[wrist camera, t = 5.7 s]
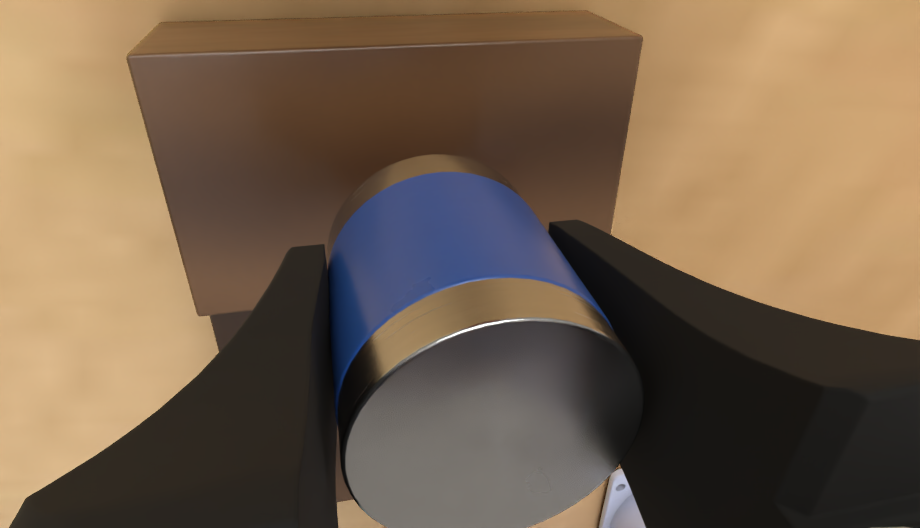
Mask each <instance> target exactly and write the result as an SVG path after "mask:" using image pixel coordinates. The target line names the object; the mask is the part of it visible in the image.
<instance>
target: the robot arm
mask: <svg viewBox="0 0 920 528" xmlns="http://www.w3.org/2000/svg"><path fill="white" fill-rule="evenodd" d="M548 234H549V235H550V236H551V238H552V239H553V241H554V242H555V244H556V245H557V247H558V248H559V249H560V251H561V252H562V254H563V255H564V257H565V258H566V259H567V261H568V262H569V264H570V265H571V267H572V268H573V270H574V271H575V272H576V274H577V275H578V277H579V278H580V280H581V281H582V283H583V284H584V285H585V287H586V288H587V290H588V291H589V293H590V294H591V296H592V297H593V298H594V300H595V301H596V303H597V304H598V306H599V307H600V309H601V310H602V311H603V313H604V314H605V316H606V317H607V319H608V320H609V322H610V324H611V326H612V329H613V331H614V333H615V334H616V335H617V337H618V338H619V340H620V341H621V343H622V344H623V346H624V347H625V349H626V350H627V351H628V353H629V354H630V356H631V357H632V359H633V360H634V362H635V363H636V365H637V368H638V370H639V372H640V375H641V377H642V382H643V387H644V412H643V418H642V422H641V425H640V428H639V431H638V434H637V436H636V438H635V440H634V442H633V444H632V447H631V448H630V450H629V451H628V453H627V454H626V456H625V457H624V459H623V460H622V462H621V463H620V465H621V469H618V470H615V471H614V472H613V473H612V474H611V476H610V479H609V483H608V488H607V492H606V497H605V501H604V506H603V510H602V515H601V519H600V524H599V528H920V340H914V339H907V338H901V337H895V336H889V335H884V334H878V333H874V332H869V331H864V330H860V329H855V328H850V327H846V326H841V325H837V324H833V323H829V322H825V321H821V320H817V319H813V318H809V317H806V316H802V315H799V314H795V313H792V312H789V311H785V310H782V309H778V308H775V307H772V306H769V305H765V304H762V303H759V302H756V301H753V300H751V299H748V298H745V297H743V296H740V295H737V294H734V293H732V292H729V291H726V290H724V289H721V288H719V287H716V286H714V285H711V284H709V283H706V282H704V281H702V280H700V279H697V278H695V277H693V276H691V275H689V274H686V273H684V272H682V271H680V270H678V269H675V268H673V267H671V266H669V265H667V264H665V263H663V262H661V261H659V260H657V259H655V258H653V257H651V256H649V255H647V254H646V253H644V252H642V251H640V250H638V249H636V248H634V247H632V246H630V245H628V244H627V243H625V242H623V241H621V240H619V239H617V238H615V237H613V236H612V235H610V234H608V233H606V232H604V231H602V230H600V229H598V228H596V227H594V226H592V225H590V224H588V223H585V222H583V221H580V220H578V219H576V220H566V221H555V222H549V229H548ZM329 313H330V299H329V283H328V269H327V261H326V253H325V245H324V244H319V245H308V246H298V247H291V248H290V249H289V250H288V252H287V253H286V254H285V257H284V259H283V261H282V263H281V265H280V267H279V269H278V270H277V272H276V274H275V276H274V277H273V279H272V281H271V283H270V284H269V286H268V288H267V289H266V291H265V292H264V294H263V295H262V297H261V298H260V300H259V301H258V303H257V304H256V306H255V308H254V309H253V310H252V312H251V313H250V315H249V316H248V317H247V319H246V320H245V321H244V322H243V324H242V325H241V326H240V328H239V329H238V330H237V332H236V333H235V334H234V336H233V337H232V338H231V339H230V341H229V342H228V343H227V344H226V345H225V346H224V348H223V349H222V350H221V351H220V352H219V353H218V354H217V356H216V357H215V358H214V359H213V360H212V361H211V362H210V363H209V364H208V365H207V366H206V367H205V368H204V369H203V370H202V372H201V373H200V374H199V375H198V376H197V377H195V378H194V379H193V380H192V381H191V382H190V383H189V384H188V385H186V386H185V387H184V388H183V389H182V390H181V391H180V392H178V393H177V394H176V395H175V396H174V397H173V398H172V399H170V400H169V401H168V402H167V403H166V404H165V405H164V406H162V407H161V408H160V409H159V410H158V411H156V412H155V413H154V414H153V415H151V416H150V417H149V418H147V419H146V420H145V421H143V422H142V423H141V424H139V425H138V426H137V427H136V428H134V429H133V430H131V431H130V432H129V433H127V434H126V435H124V436H123V437H122V438H120V439H119V440H117V441H116V442H115V443H113V444H112V445H110V446H109V447H107V448H106V449H104V450H103V451H102V452H100V453H99V454H97V455H96V456H94V457H92V458H91V459H89V460H88V461H86V462H84V463H83V464H81V465H80V466H78V467H76V468H75V469H73V470H72V471H70V472H68V473H67V474H65V475H63V476H62V477H60V478H59V479H57V480H55V481H54V482H52V483H51V484H49V485H47V486H46V487H44V488H42V489H41V490H39V491H37V492H36V493H34V494H32V495H30V496H29V497H27V498H26V499H25V501H24V503H23V504H22V506H21V508H20V510H19V512H18V513H17V515H16V517H15V518H14V520H13V522H12V524H11V525H10V527H9V528H338V518H337V503H336V444H337V422H336V418H335V402H334V385H333V369H332V352H331V336H330V316H329Z"/></svg>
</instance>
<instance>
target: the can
mask: <svg viewBox="0 0 920 528" xmlns="http://www.w3.org/2000/svg"><path fill="white" fill-rule="evenodd" d="M327 262H328V283H329V299H330V313H329V316H330V336H331V352H332V369H333V385H334V402H335V418H336V422H337V426H338V432H339V448H340V463H341V471H342V475H343V479H344V482H345V484H346V486H347V488H348V490H349V493H350V494H351V496H352V497H353V499H354V500H355V501H356V503H357V504H358V505H359V507H360V508H361V509H362V510H363V511H364V512H365V513H367V514H368V515H369V516H370V517H371V518H373V519H374V520H376V521H377V522H379V523H380V524H382V525H384V526H386V527H388V528H528V527H530V526H533V525H535V524H538V523H540V522H543V521H545V520H547V519H549V518H551V517H553V516H555V515H557V514H559V513H561V512H563V511H564V510H566V509H568V508H569V507H571V506H573V505H574V504H576V503H577V502H579V501H580V500H581V499H583V498H584V497H586V496H587V495H589V494H590V493H591V492H592V491H593V490H595V489H596V488H597V487H598V486H599V485H600V484H602V483H603V482H604V481H605V480H606V479H607V478H608V477H609V476H610V475H611V474H612V473H613V471H614V470H615V469H616V468H617V467H618V465H619V464H620V463H621V462H622V460H623V459H624V457H625V456H626V454H627V453H628V451H629V450H630V448H631V447H632V444H633V442H634V440H635V438H636V436H637V434H638V431H639V428H640V425H641V422H642V418H643V412H644V387H643V382H642V377H641V375H640V372H639V370H638V368H637V365H636V363H635V362H634V360H633V359H632V357H631V356H630V354H629V353H628V351H627V350H626V349H625V347H624V346H623V344H622V343H621V341H620V340H619V338H618V337H617V335H616V334H615V333H614V331H613V329H612V326H611V324H610V322H609V320H608V319H607V317H606V316H605V314H604V313H603V311H602V310H601V309H600V307H599V306H598V304H597V303H596V301H595V300H594V298H593V297H592V296H591V294H590V293H589V291H588V290H587V288H586V287H585V285H584V284H583V283H582V281H581V280H580V278H579V277H578V275H577V274H576V272H575V271H574V270H573V268H572V267H571V265H570V264H569V262H568V261H567V259H566V258H565V257H564V255H563V254H562V252H561V251H560V249H559V248H558V247H557V245H556V244H555V242H554V241H553V239H552V238H551V236H550V235H549V234H548V232H547V231H546V229H545V228H544V226H543V225H542V223H541V222H540V221H539V219H538V218H537V216H536V215H535V213H534V212H533V210H532V209H531V208H530V206H529V205H528V204H527V203H526V202H525V201H524V200H523V199H522V197H521V196H520V194H519V193H518V191H517V190H516V188H515V187H514V186H513V185H512V184H511V183H510V182H509V181H508V180H507V179H506V178H505V177H504V176H503V175H501V174H500V173H499V172H498V171H496V170H494V169H493V168H491V167H489V166H487V165H486V164H483V163H481V162H478V161H476V160H473V159H470V158H466V157H462V156H455V155H447V154H431V155H424V156H416V157H412V158H409V159H405V160H401V161H399V162H396V163H394V164H391V165H389V166H387V167H385V168H383V169H381V170H380V171H378V172H376V173H374V174H373V175H372V176H370V177H369V178H367V179H366V180H365V181H363V182H362V183H361V184H360V185H359V186H358V187H357V188H356V189H355V190H354V191H353V192H352V193H351V194H350V195H349V197H348V198H347V199H346V200H345V201H344V203H343V205H342V206H341V208H340V209H339V211H338V213H337V215H336V217H335V219H334V221H333V224H332V226H331V230H330V234H329V237H328V246H327Z"/></svg>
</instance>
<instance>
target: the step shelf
mask: <svg viewBox="0 0 920 528" xmlns="http://www.w3.org/2000/svg"><path fill="white" fill-rule="evenodd" d="M642 41H643V37H642V36H641V35H639V34H637V33H635V32H632V31H630V30H628V29H626V28H624V27H622V26H619V25H617V24H615V23H613V22H611V21H609V20H606V19H604V18H602V17H600V16H598V15H596V14H593V13H591V12H589V11H551V12H515V13H479V14H444V15H408V16H372V17H336V18H301V19H265V20H229V21H193V22H161V23H159V24H158V25H157V26H156V27H155V28H154V29H153V30H152V31H151V32H150V33H149V34H148V35H147V36H146V37H145V38H144V39H143V40H141V41H140V42H139V43H138V44H137V45H136V46H135V47H134V48H133V49H132V50H131V51H130V52H129V53H128V54H127V57H126V59H127V63H128V66H129V70H130V73H131V77H132V81H133V84H134V88H135V91H136V95H137V99H138V102H139V106H140V109H141V113H142V117H143V120H144V124H145V128H146V131H147V135H148V138H149V142H150V146H151V149H152V153H153V156H154V160H155V164H156V167H157V171H158V174H159V178H160V182H161V185H162V189H163V193H164V196H165V200H166V203H167V207H168V211H169V214H170V218H171V221H172V225H173V229H174V232H175V236H176V240H177V243H178V247H179V250H180V254H181V258H182V261H183V265H184V268H185V272H186V276H187V279H188V283H189V286H190V290H191V294H192V297H193V301H194V305H195V308H196V312H197V314H198V316H208V315H210V319H211V323H212V326H213V330H214V334H215V338H216V342H217V345H218V349H219V352H220V351H221V350H222V349H223V348H224V346H225V345H226V344H227V343H228V342H229V341H230V339H231V338H232V337H233V336H234V334H235V333H236V332H237V330H238V329H239V328H240V326H241V325H242V324H243V322H244V321H245V320H246V319H247V317H248V316H249V315H250V313H251V312H252V310H253V309H254V308H255V306H256V304H257V303H258V301H259V300H260V298H261V297H262V295H263V294H264V292H265V291H266V289H267V288H268V286H269V284H270V283H271V281H272V279H273V277H274V276H275V274H276V272H277V270H278V269H279V267H280V265H281V263H282V261H283V259H284V257H285V254H286V253H287V252H288V250H289V249H290V248H291V247H298V246H308V245H319V244H324V245H325V253H326V261H327V246H328V237H329V234H330V230H331V226H332V224H333V221H334V219H335V217H336V215H337V213H338V211H339V209H340V208H341V206H342V205H343V203H344V201H345V200H346V199H347V198H348V197H349V195H350V194H351V193H352V192H353V191H354V190H355V189H356V188H357V187H358V186H359V185H360V184H361V183H362V182H363V181H365V180H366V179H367V178H369V177H370V176H372V175H373V174H374V173H376V172H378V171H380V170H381V169H383V168H385V167H387V166H389V165H391V164H394V163H396V162H399V161H401V160H405V159H409V158H412V157H416V156H424V155H431V154H447V155H455V156H462V157H466V158H470V159H473V160H476V161H478V162H481V163H483V164H486V165H487V166H489V167H491V168H493V169H494V170H496V171H498V172H499V173H500V174H501V175H503V176H504V177H505V178H506V179H507V180H508V181H509V182H510V183H511V184H512V185H513V186H514V187H515V188H516V190H517V191H518V193H519V194H520V196H521V197H522V199H523V200H524V201H525V202H526V203H527V204H528V205H529V206H530V208H531V209H532V210H533V212H534V213H535V215H536V216H537V218H538V219H539V221H540V222H541V223H542V225H543V226H544V228H545V229H546V231H547V232H548V229H549V222H555V221H566V220H576V219H578V220H580V221H583V222H585V223H588V224H590V225H592V226H594V227H596V228H598V229H600V230H602V231H604V232H606V233H608V234H610V233H611V227H612V221H613V215H614V209H615V203H616V197H617V191H618V185H619V179H620V173H621V167H622V161H623V155H624V149H625V143H626V137H627V131H628V125H629V119H630V113H631V107H632V101H633V95H634V89H635V83H636V77H637V71H638V65H639V59H640V53H641V47H642ZM327 269H328V262H327ZM347 500H353V497H352V496H351V494H350V493H349V490H348V488H347V486H346V484H345V482H344V479H343V475H342V471H341V463H340V448H339V432H338V426H337V444H336V502H341V501H347Z"/></svg>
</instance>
